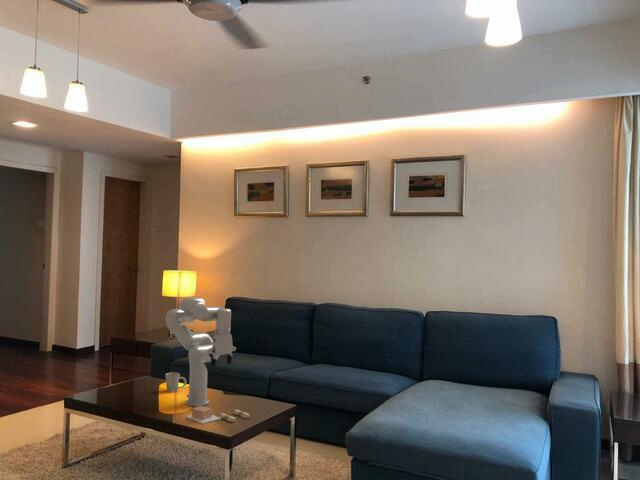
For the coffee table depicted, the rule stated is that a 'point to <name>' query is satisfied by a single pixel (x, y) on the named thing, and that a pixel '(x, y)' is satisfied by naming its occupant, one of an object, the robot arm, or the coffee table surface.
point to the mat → (211, 419)
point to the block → (202, 412)
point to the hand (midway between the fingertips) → (221, 364)
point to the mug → (173, 381)
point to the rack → (233, 419)
